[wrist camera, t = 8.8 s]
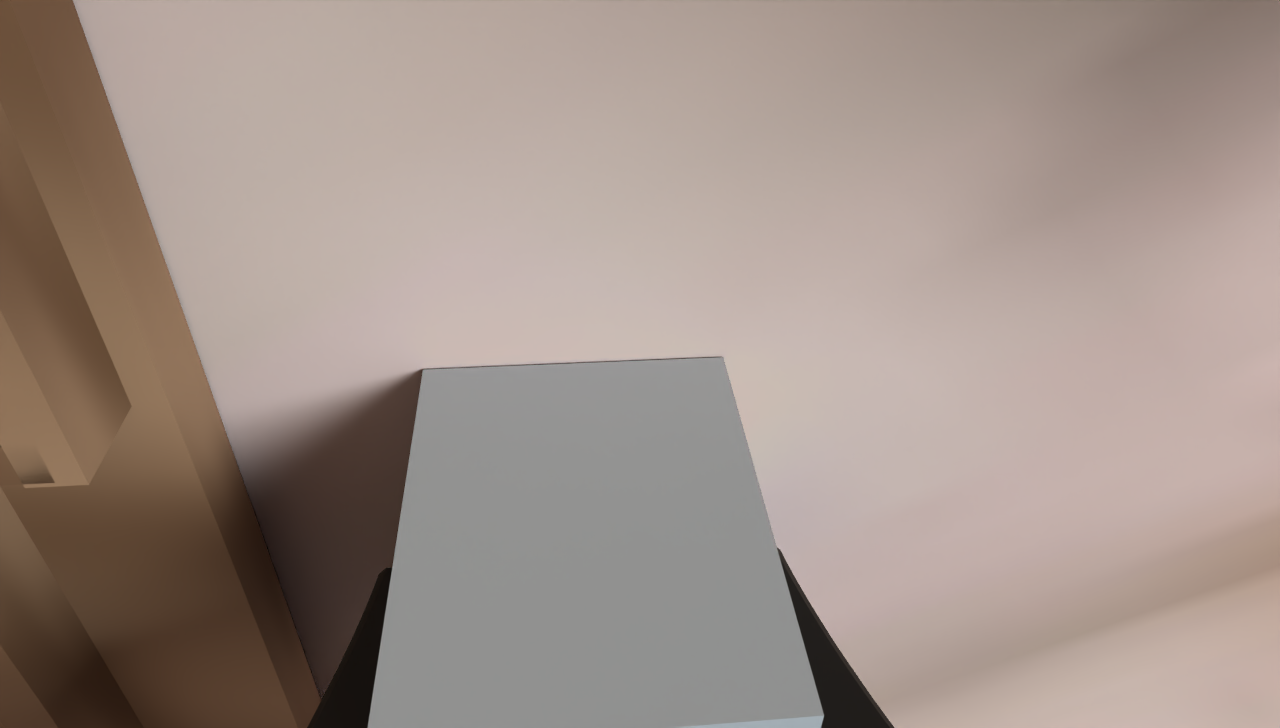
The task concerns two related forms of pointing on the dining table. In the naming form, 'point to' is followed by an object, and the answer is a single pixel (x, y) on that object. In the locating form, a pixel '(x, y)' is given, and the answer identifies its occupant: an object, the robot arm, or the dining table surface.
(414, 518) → the blue box with knob
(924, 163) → the dining table surface
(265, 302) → the dining table surface
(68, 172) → the jig
